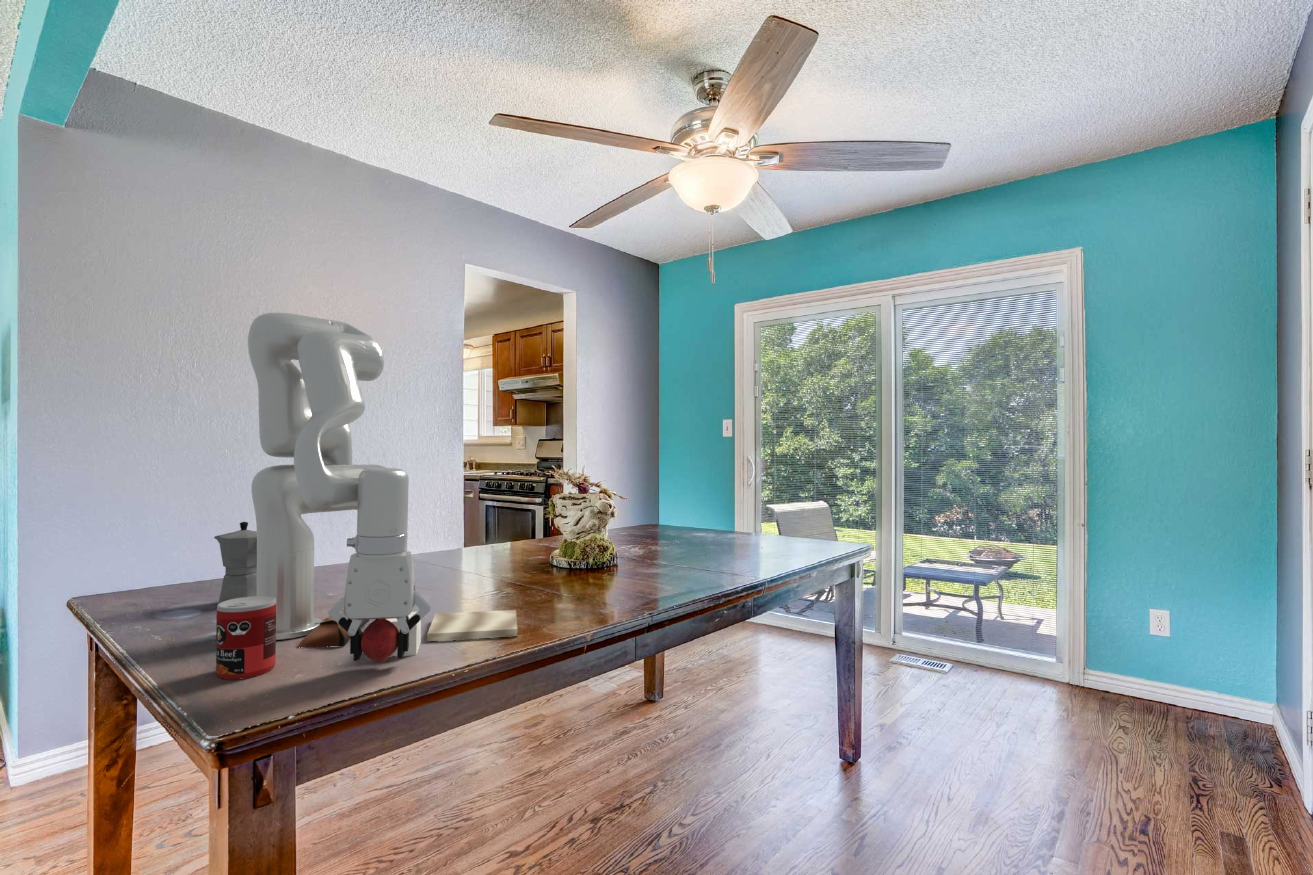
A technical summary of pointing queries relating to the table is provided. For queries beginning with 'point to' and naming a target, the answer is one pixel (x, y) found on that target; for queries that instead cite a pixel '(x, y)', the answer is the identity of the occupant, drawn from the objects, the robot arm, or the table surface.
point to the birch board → (472, 625)
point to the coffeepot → (239, 563)
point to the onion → (379, 640)
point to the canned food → (245, 637)
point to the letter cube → (410, 637)
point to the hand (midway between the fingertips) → (379, 656)
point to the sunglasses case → (327, 634)
